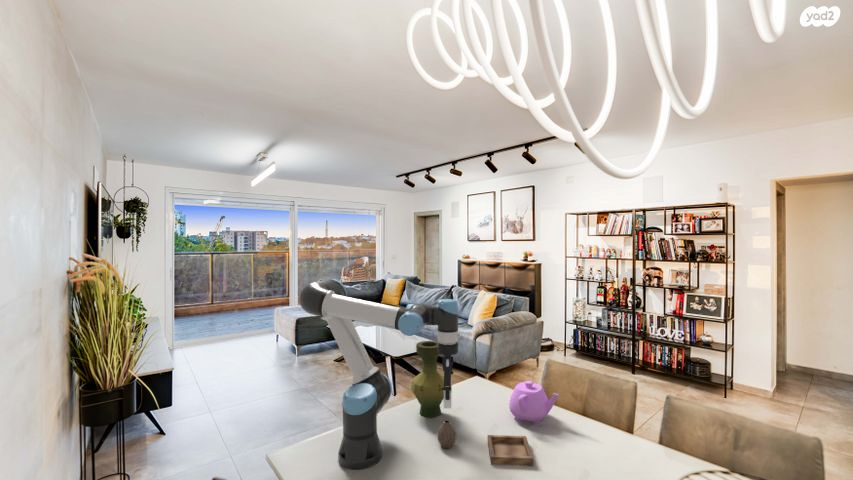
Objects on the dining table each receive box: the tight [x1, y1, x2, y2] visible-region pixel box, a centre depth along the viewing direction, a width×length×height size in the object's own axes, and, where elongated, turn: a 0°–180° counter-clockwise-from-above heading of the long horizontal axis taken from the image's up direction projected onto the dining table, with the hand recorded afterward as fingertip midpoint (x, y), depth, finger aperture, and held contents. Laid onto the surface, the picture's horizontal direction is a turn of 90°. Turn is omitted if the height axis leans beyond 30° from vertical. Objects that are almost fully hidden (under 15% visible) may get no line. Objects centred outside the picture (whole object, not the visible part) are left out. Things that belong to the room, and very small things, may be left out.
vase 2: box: [437, 419, 457, 449], centre depth 138 cm, size 7×7×9 cm
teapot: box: [508, 380, 560, 426], centre depth 156 cm, size 20×20×15 cm
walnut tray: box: [487, 434, 535, 467], centre depth 132 cm, size 14×14×3 cm
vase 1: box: [410, 340, 444, 419], centre depth 164 cm, size 16×16×30 cm
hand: (447, 399), depth 138 cm, fingers open, 13 cm apart
